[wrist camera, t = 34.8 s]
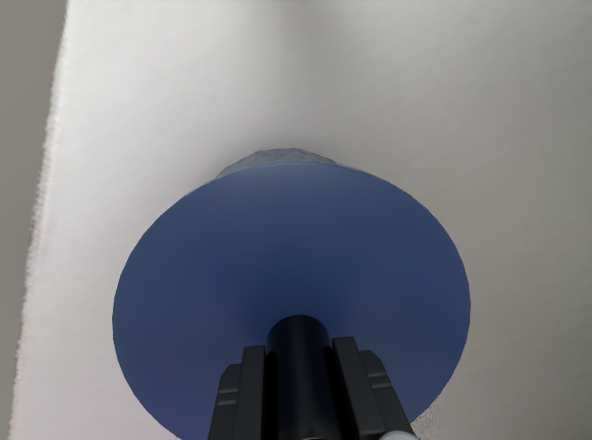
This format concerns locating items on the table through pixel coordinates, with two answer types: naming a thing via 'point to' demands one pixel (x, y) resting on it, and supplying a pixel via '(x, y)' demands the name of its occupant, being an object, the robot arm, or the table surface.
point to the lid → (289, 297)
